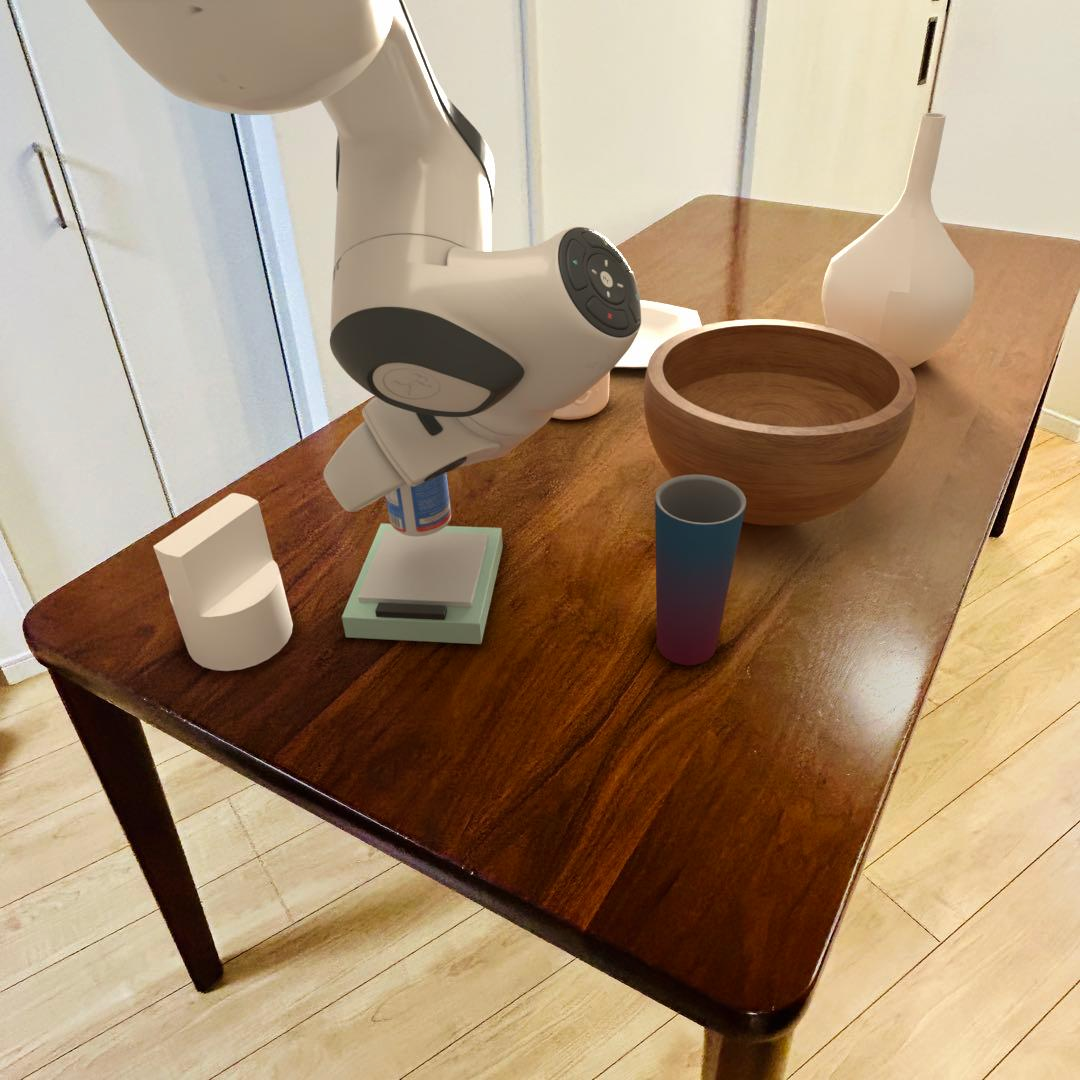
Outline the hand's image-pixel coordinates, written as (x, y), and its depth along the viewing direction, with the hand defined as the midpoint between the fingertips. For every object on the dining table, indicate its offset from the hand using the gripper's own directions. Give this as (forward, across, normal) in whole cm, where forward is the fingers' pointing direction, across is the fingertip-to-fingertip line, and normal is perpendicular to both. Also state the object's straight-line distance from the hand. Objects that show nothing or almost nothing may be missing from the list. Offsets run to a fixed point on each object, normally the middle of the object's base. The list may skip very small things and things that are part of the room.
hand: (408, 466), depth 76 cm
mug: (+19, -35, 0) cm, 39 cm away
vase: (+2, -73, +17) cm, 75 cm away
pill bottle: (+4, 0, +4) cm, 6 cm away
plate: (+24, -54, -4) cm, 59 cm away
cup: (-7, -9, +26) cm, 28 cm away
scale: (+9, 0, +10) cm, 13 cm away
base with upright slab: (+15, +15, +4) cm, 21 cm away
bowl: (-2, -32, +21) cm, 38 cm away
